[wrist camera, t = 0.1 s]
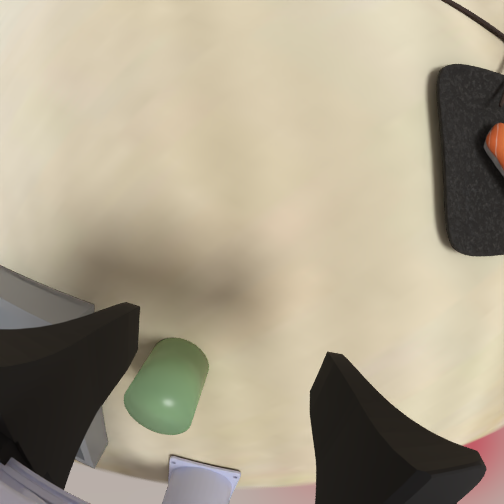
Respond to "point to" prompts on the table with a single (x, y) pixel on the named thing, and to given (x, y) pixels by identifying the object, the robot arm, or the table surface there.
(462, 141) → the sushi plate
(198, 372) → the green rounded tapered piece
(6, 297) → the bin
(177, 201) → the table surface
